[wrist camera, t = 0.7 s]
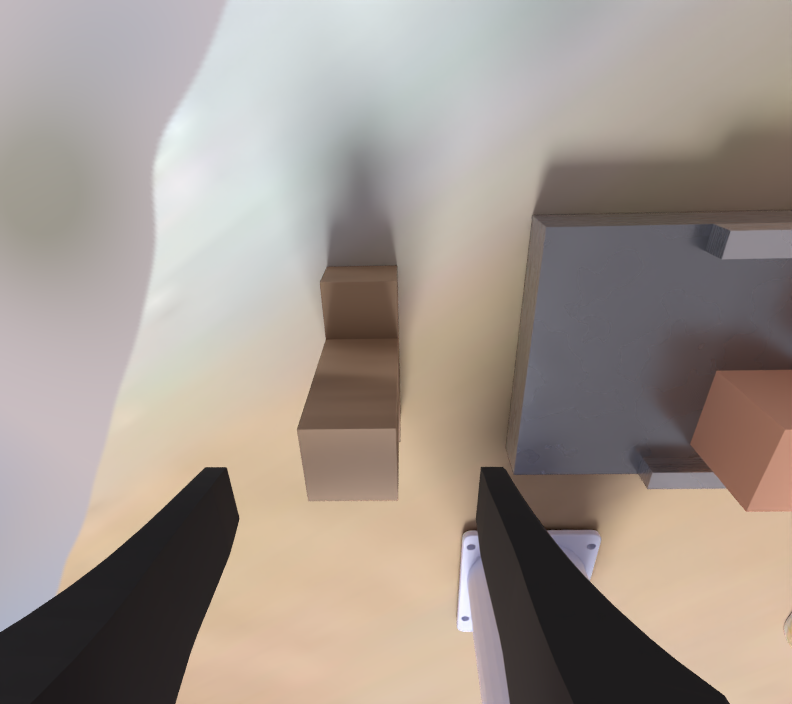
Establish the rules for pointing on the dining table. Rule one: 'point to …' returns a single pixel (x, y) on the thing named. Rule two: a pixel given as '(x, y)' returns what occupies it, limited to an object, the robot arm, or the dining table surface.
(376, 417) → the tan stepped block
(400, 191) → the dining table surface
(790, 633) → the coffee cup
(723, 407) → the block
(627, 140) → the dining table surface
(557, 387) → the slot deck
